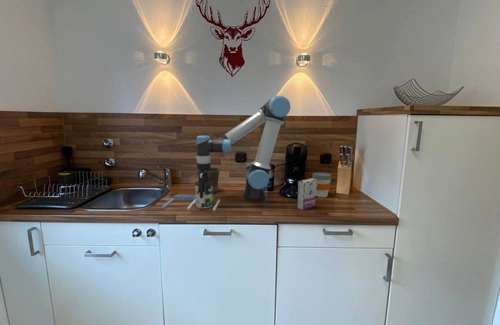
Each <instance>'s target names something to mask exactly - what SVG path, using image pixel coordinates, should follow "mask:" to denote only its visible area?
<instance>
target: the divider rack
mask: <svg viewBox="0 0 500 325" xmlns="http://www.w3.org/2000/svg"><path fill="white" fill-rule="evenodd" d="M177 200H178V201H192V202H191V203H190V204H189V205H188V206H187V207H186V208H187V211H190V210H191V208H193V206H194V205H196V195H180V194H179V195H176V194H175V195H174V197H173V198H171V199H170V200H168V201H167V202H166V203H165V204H163V205H162V206H161V210H165V209H166V208H167V207H168V206H169V205H170V204H172V203H173V202H174V201H177ZM220 203H221V199H217V201H216V203H215V205H213V207H212V212H213V211H214V212H215V211H216V209H217V208H218V205H219V204H220Z"/></svg>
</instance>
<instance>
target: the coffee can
mask: <svg viewBox="0 0 500 325" xmlns="http://www.w3.org/2000/svg"><path fill="white" fill-rule="evenodd" d="M194 184H195V186H194V188H195V196H196V203H195V207H196V208H198V209H208V208H213V207H214V193H213V182H212V181H205V184H203V185H204V197H205V203H200V201H199V192H198V184H199V180H196V181H195V182H194Z"/></svg>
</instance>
